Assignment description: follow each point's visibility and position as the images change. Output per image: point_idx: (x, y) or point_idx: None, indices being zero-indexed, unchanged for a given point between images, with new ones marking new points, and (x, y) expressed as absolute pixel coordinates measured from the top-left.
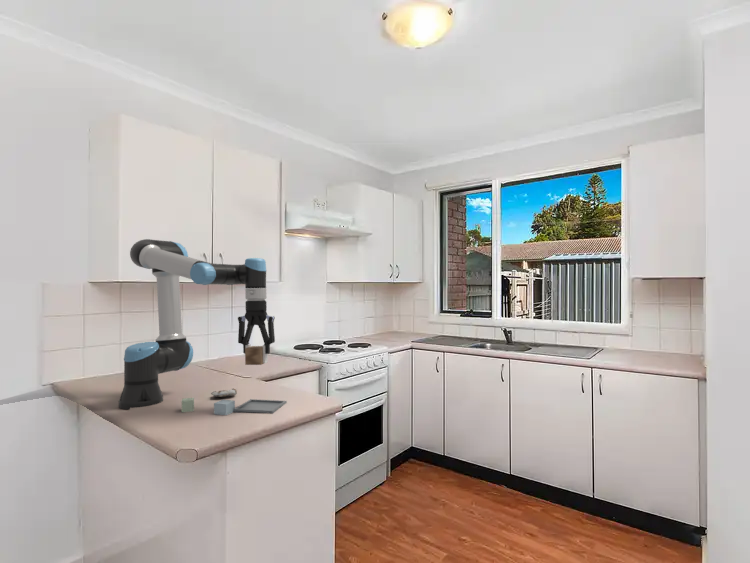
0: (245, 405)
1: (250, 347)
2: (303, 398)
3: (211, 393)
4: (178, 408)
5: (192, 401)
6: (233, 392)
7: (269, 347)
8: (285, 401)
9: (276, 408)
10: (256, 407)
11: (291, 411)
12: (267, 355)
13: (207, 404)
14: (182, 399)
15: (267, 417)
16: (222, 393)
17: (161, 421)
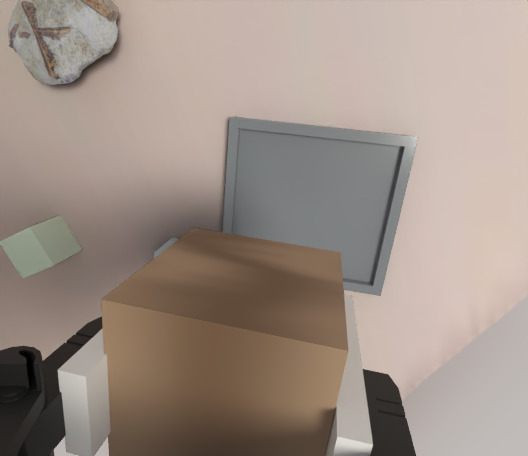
0: (237, 192)
1: (143, 429)
2: (501, 5)
3: (10, 43)
4: (13, 218)
5: (53, 264)
6: (110, 44)
7: (408, 449)
8: (414, 149)
9: (388, 259)
10: (292, 220)
11: (452, 251)
12: (356, 336)
13: (75, 161)
14: (8, 254)
15: (366, 322)
16: (71, 74)
17: (60, 345)
